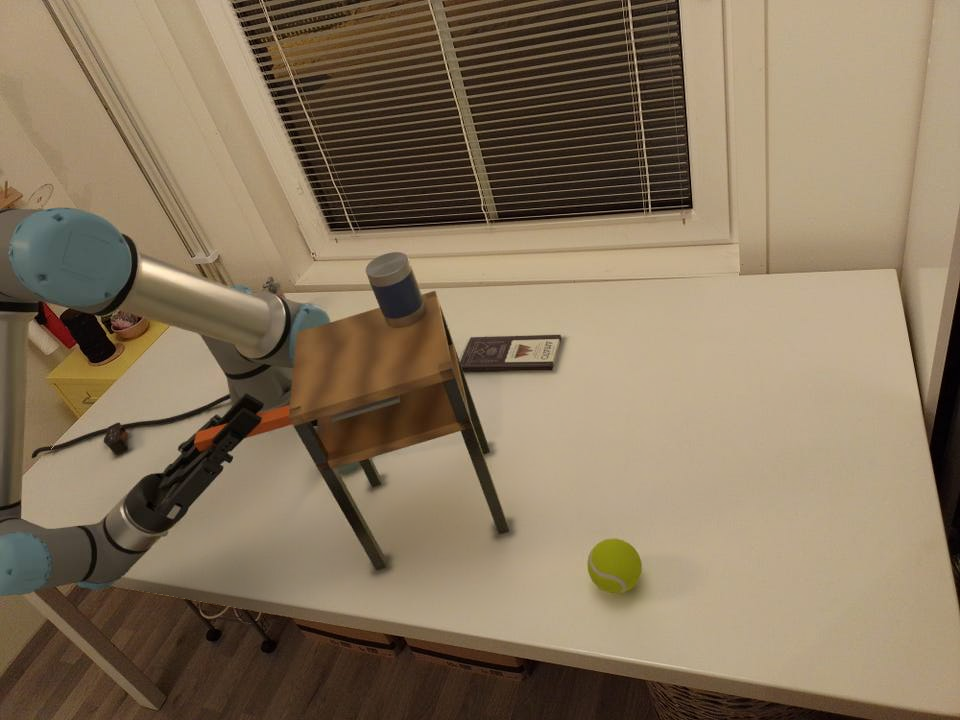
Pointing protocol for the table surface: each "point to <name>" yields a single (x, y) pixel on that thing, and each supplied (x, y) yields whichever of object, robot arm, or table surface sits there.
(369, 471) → the side table
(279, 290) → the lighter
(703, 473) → the table surface
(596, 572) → the tennis ball
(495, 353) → the chocolate bar
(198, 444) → the spatula
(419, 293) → the tin can
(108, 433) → the dark brown lumpy chunk
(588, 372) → the table surface
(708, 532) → the table surface
